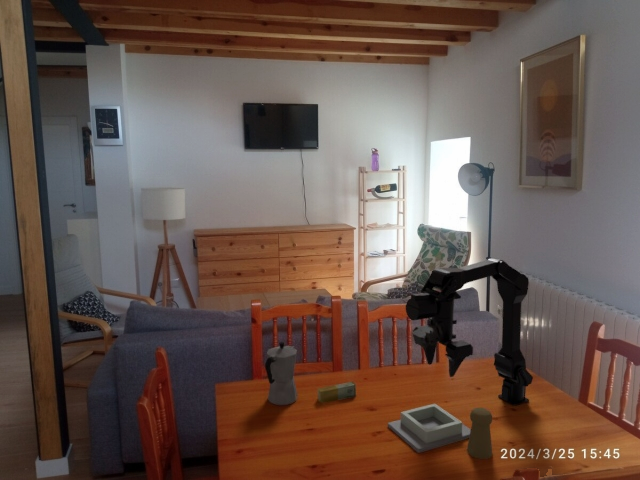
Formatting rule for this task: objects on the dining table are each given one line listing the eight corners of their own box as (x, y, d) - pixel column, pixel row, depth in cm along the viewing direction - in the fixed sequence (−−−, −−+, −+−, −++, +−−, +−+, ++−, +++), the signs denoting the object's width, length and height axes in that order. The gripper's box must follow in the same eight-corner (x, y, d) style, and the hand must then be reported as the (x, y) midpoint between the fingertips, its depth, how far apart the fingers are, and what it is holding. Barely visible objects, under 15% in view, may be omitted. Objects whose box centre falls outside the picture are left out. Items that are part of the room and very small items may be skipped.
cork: (494, 460, 118) (496, 417, 116) (468, 457, 119) (469, 415, 118) (490, 446, 124) (492, 405, 122) (465, 443, 125) (467, 403, 123)
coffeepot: (280, 386, 158) (279, 333, 156) (306, 392, 154) (305, 337, 151) (253, 407, 145) (252, 349, 142) (281, 414, 140) (280, 354, 138)
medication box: (352, 393, 154) (352, 381, 153) (356, 396, 151) (356, 384, 151) (317, 400, 149) (316, 388, 149) (320, 404, 147) (320, 391, 146)
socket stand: (440, 412, 141) (441, 399, 141) (475, 436, 129) (475, 421, 128) (387, 426, 134) (387, 412, 133) (418, 453, 121) (418, 438, 121)
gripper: (398, 310, 138) (396, 363, 140) (441, 329, 121) (438, 389, 123) (430, 305, 142) (428, 356, 144) (475, 323, 126) (472, 381, 128)
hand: (440, 370), depth 135 cm, fingers open, 9 cm apart
